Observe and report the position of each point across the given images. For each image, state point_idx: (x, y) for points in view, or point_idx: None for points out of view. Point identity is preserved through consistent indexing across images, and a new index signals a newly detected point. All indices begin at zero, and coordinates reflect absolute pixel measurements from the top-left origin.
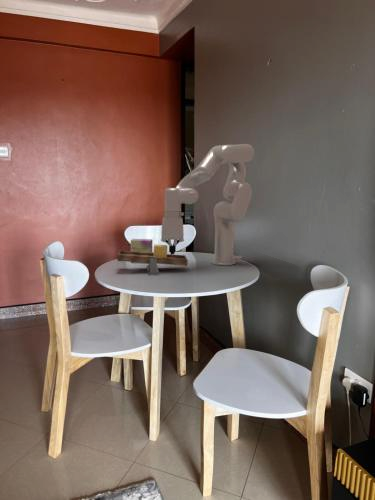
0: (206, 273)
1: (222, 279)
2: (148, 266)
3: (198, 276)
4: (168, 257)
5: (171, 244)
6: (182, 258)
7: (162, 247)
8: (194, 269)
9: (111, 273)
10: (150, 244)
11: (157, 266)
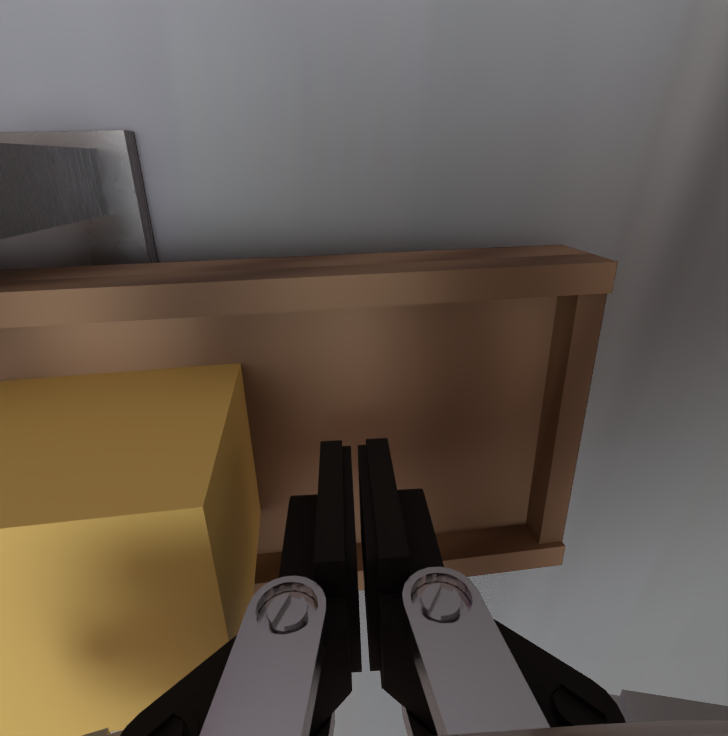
0: (674, 499)
1: (717, 651)
2: (13, 248)
3: (565, 583)
4: (291, 343)
5: (337, 697)
6: (529, 329)
7: (124, 709)
8: (614, 341)
9: None
10: None
11: (146, 255)
